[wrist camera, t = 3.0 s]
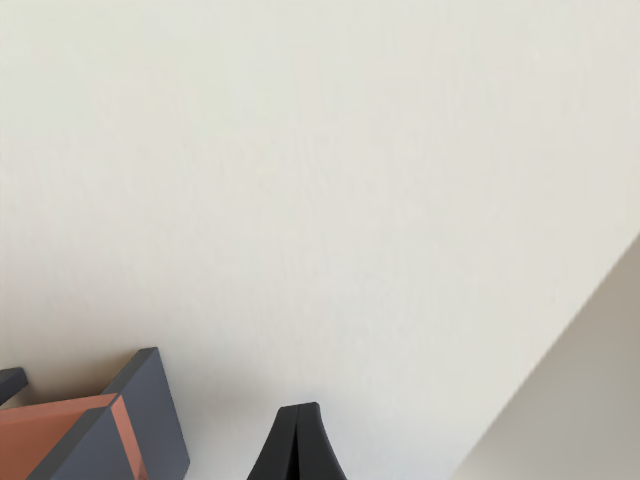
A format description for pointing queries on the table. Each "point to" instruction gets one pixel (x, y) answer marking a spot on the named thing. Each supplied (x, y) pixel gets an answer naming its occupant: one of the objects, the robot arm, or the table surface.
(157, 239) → the table surface
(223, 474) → the table surface
